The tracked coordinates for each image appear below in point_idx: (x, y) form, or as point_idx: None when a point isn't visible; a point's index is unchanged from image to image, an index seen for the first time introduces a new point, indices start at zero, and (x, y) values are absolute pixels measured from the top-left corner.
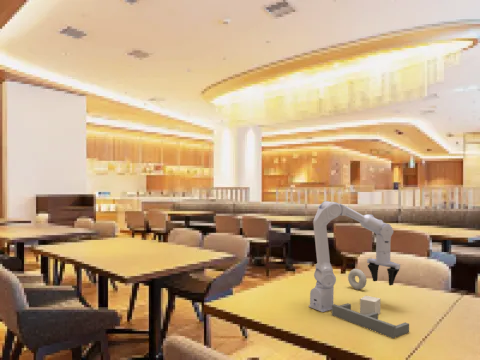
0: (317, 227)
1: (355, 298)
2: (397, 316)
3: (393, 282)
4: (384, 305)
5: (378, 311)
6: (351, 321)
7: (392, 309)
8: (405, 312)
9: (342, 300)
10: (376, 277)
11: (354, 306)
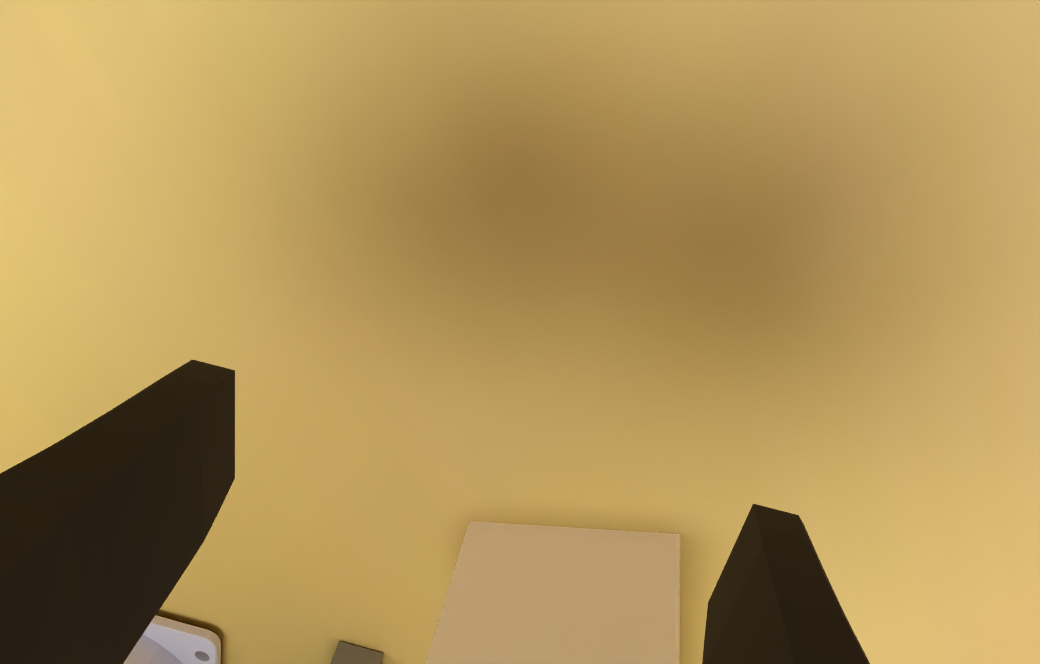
0: None
1: (32, 122)
2: (932, 531)
3: (817, 578)
4: (593, 165)
5: (678, 624)
6: None
7: (786, 288)
8: (1033, 302)
9: (18, 351)
10: (179, 469)
11: (292, 481)
